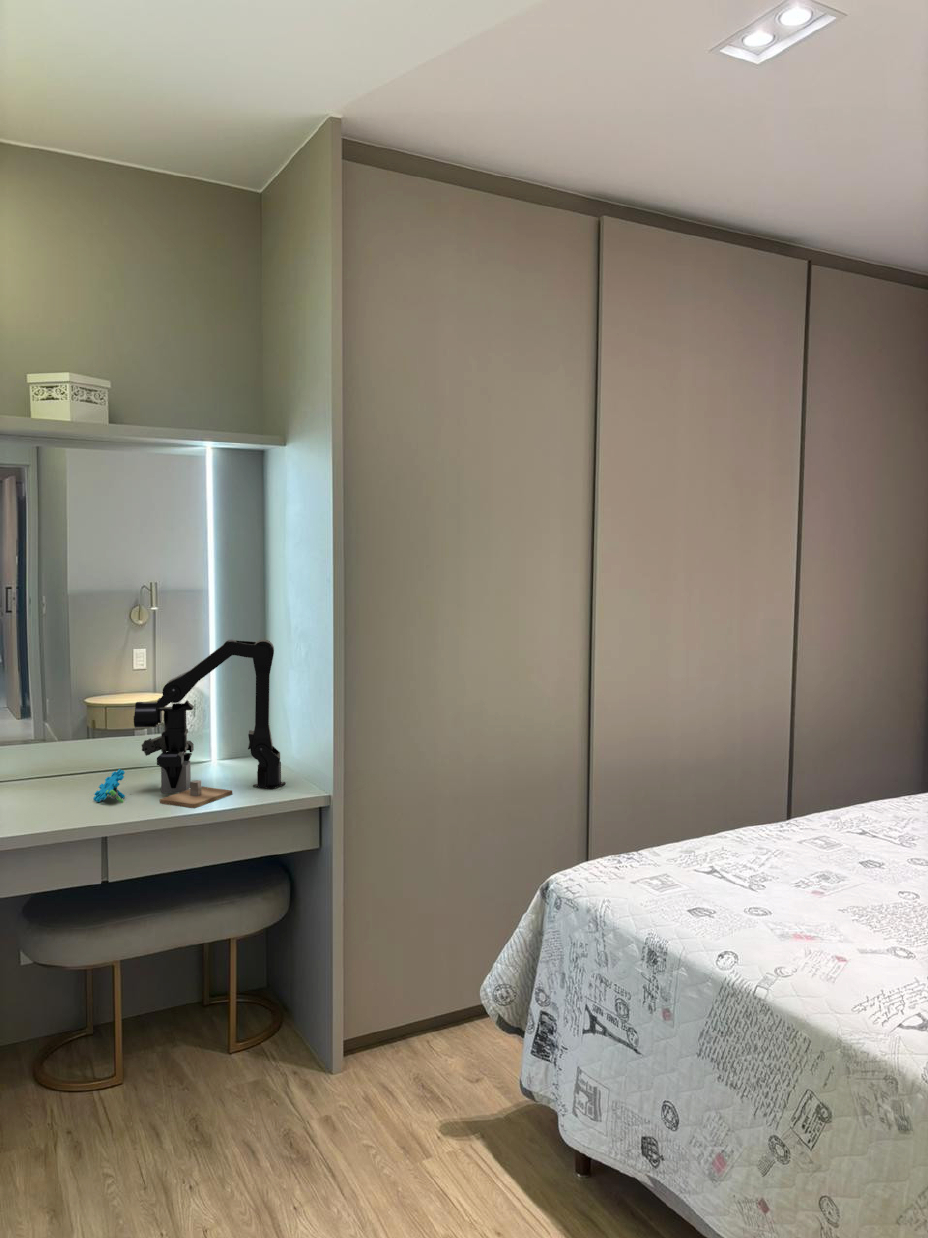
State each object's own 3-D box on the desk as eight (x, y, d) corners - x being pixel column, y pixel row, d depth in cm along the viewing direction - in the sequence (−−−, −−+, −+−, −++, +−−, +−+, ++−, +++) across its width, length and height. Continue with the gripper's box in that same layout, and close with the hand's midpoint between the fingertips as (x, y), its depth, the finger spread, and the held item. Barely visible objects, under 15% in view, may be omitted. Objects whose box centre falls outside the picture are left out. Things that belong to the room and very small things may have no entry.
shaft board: (198, 789, 257) (198, 773, 256) (232, 794, 252) (232, 777, 252) (159, 803, 243) (159, 785, 243) (194, 808, 238) (194, 790, 238)
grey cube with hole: (166, 786, 259) (166, 760, 259) (190, 786, 260) (190, 760, 260) (161, 792, 253) (161, 766, 253) (186, 792, 254) (185, 765, 253)
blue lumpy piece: (90, 790, 249) (119, 762, 250) (108, 803, 251) (136, 776, 253) (92, 806, 239) (122, 777, 240) (110, 820, 241) (139, 791, 243)
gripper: (152, 720, 264) (153, 776, 265) (135, 734, 245) (136, 794, 246) (193, 720, 265) (194, 776, 266) (180, 733, 246) (181, 793, 247)
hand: (176, 784), depth 256 cm, fingers open, 7 cm apart
